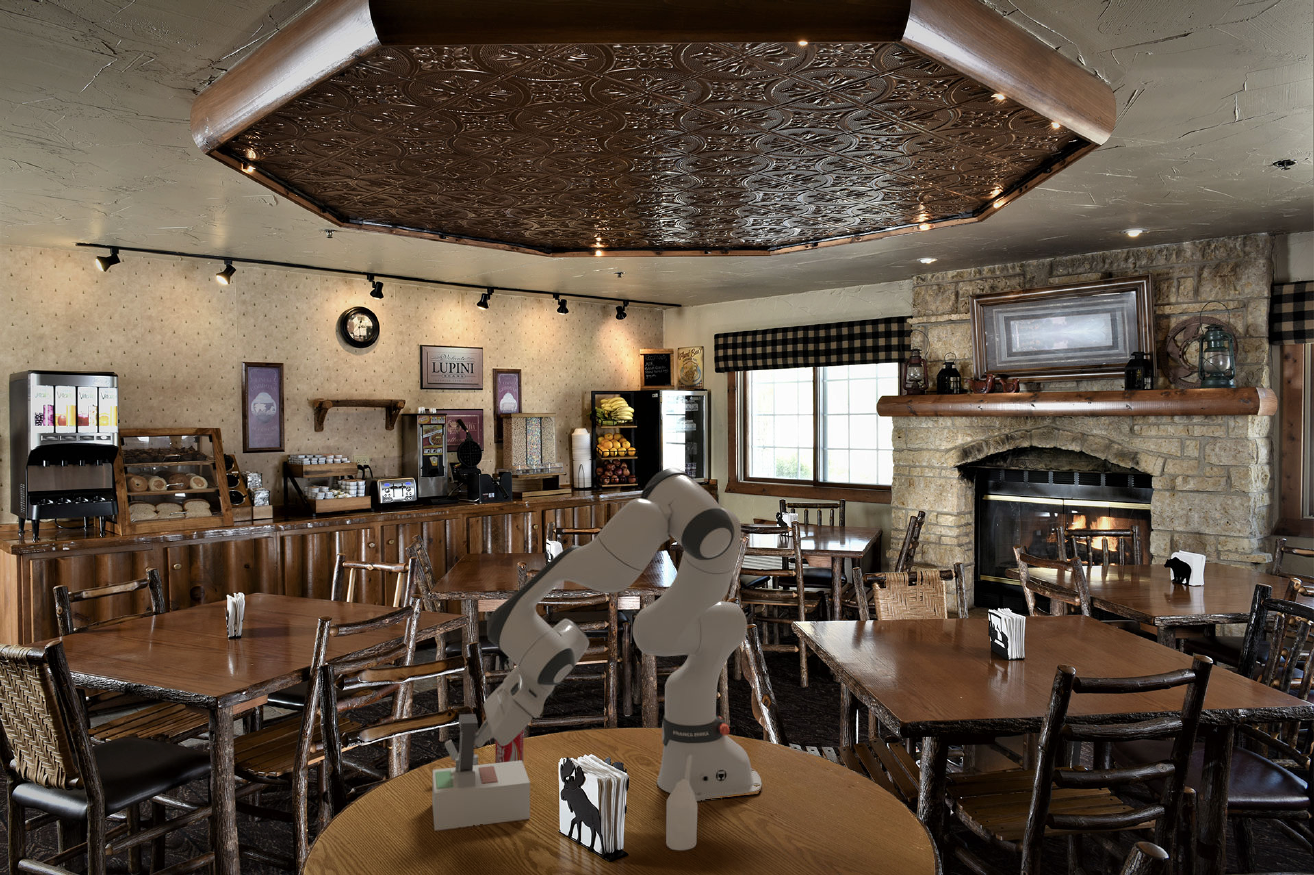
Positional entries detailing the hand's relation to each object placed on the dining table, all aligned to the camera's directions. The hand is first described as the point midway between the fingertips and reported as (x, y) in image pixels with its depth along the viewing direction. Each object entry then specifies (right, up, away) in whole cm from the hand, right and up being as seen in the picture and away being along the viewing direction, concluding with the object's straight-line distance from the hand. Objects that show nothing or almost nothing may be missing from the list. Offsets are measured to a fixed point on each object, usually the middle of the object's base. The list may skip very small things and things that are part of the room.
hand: (476, 743), depth 164 cm
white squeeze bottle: (+41, -14, -13) cm, 45 cm away
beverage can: (+3, -14, +22) cm, 26 cm away
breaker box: (+1, -14, 0) cm, 14 cm away
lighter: (-7, -14, +18) cm, 24 cm away
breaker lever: (-2, -6, -1) cm, 7 cm away
